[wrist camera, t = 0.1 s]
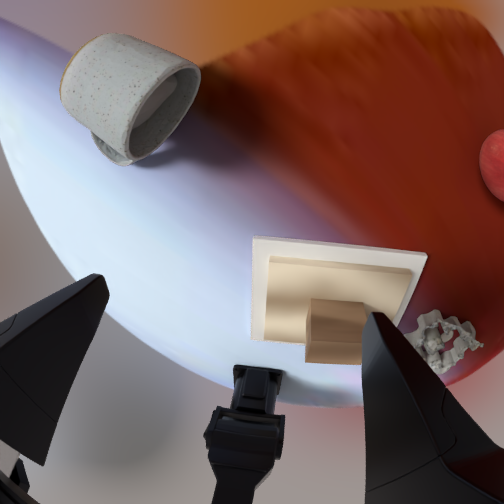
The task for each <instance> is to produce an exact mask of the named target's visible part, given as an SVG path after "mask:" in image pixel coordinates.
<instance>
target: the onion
mask: <svg viewBox="0 0 504 504" xmlns="http://www.w3.org/2000/svg"><path fill="white" fill-rule="evenodd" d="M479 166H480V171H481V176H482V178H483V180H484V182H485V184H486V186H487V187H488V189H489V191H490V192H491V193H492V194H493V195H494V196H495V197H497V198H498V199H500V200H501V201H503V202H504V129H503V130H498V131H496V132H494V133H492V134H490V135H489V136H488V137H487V139H486V140H485V141H484V142H483V144H482V147H481V151H480V157H479Z"/></svg>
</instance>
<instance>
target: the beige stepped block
mask: <svg viewBox="0 0 504 504" xmlns="http://www.w3.org/2000/svg"><path fill="white" fill-rule="evenodd" d="M411 278H412V273H411V271H410V269H408V268H398V267H387V266H376V265H366V264H355V263H344V262H334V261H323V260H313V259H302V258H291V257H281V256H270V258H269V267H268V282H267V298H266V312H265V326H264V340H271V341H281V342H291V343H303V344H306V349H305V362H307V363H323V364H346V365H361V363H362V331H363V328H364V326H365V323H366V321H367V319H368V316H369V314H370V313H371V312H373V311H374V312H383V313H384V314H385V315H386V316H387V317H388V318H389V319H390V320H391V321H392V322H393V319H394V317H395V315H396V313H397V311H398V309H399V306H400V304H401V302H402V300H403V297H404V295H405V293H406V290H407V288H408V285H409V283H410V280H411Z"/></svg>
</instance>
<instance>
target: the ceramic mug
mask: <svg viewBox="0 0 504 504" xmlns="http://www.w3.org/2000/svg"><path fill="white" fill-rule="evenodd" d="M200 81H201V73H200V69H199V68H198V66H197V65H196V64H194V63H193V62H191V61H188V60H186V59H184V58H182V57H180V56H177V55H176V54H173V53H171V52H169V51H167V50H164V49H162V48H160V47H157V46H155V45H152V44H150V43H147V42H145V41H142V40H140V39H137V38H135V37H132V36H130V35H125V34H118V33H107V34H103V35H100V36H98V37H95V38H93V39H92V40H90V41H88V42H87V43H86V44H85V45H83V46H82V47H81V48H80V49H79V50H78V51H77V52H76V53H75V54H74V55H73V57H72V58H71V60H70V61H69V63H68V64H67V66H66V68H65V70H64V73H63V75H62V78H61V83H60V89H59V91H60V99H61V102H62V104H63V106H64V108H65V109H66V111H67V112H68V113H69V114H70V115H71V116H72V117H73V118H74V119H75V120H76V121H78V122H79V123H80V124H82V125H83V126H85V127H86V128H88V129H89V130H90V131H91V136H92V138H93V140H94V142H95V144H96V146H97V147H98V149H99V150H100V151H101V152H102V154H103V155H105V156H106V157H107V158H108V159H109V160H110V161H112V162H113V163H115V164H117V165H120V166H128V165H131V164H133V163H134V162H136V161H138V160H141V159H144V158H145V157H147V156H148V155H150V154H151V153H152V152H154V151H155V150H156V149H157V148H158V147H159V146H160V145H161V144H162V143H163V142H164V141H165V140H166V139H167V138H168V137H169V136H170V135H171V134H172V132H173V131H174V130H175V129H176V128H177V126H178V125H179V123H180V121H181V120H182V118H183V117H184V116H185V115H186V113H187V111H188V110H189V108H190V106H191V104H192V103H193V101H194V98H195V96H196V94H197V92H198V88H199V85H200Z"/></svg>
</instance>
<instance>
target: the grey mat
mask: <svg viewBox="0 0 504 504" xmlns="http://www.w3.org/2000/svg"><path fill="white" fill-rule="evenodd" d="M270 256H281V257H291V258H302V259H313V260H323V261H334V262H344V263H355V264H366V265H376V266H387V267H398V268H408V269H410V271H411V273H412V278H411V280H410V283H409V285H408V288H407V290H406V293H405V295H404V297H403V300H402V302H401V304H400V306H399V309H398V311H397V313H396V315H395V317H394V319H393V324H394V325H395V326H396V327H397V326H398V324H399V322H400V320H401V318H402V316H403V314H404V311H405V309H406V307H407V305H408V303H409V301H410V298H411V296H412V294H413V292H414V289H415V287H416V285H417V282H418V280H419V277H420V275H421V272H422V270H423V267H424V265H425V262H426V259H427V257H428V256H427V255H426V253H423V252H414V251H406V250H397V249H388V248H379V247H370V246H360V245H351V244H341V243H331V242H321V241H311V240H301V239H290V238H279V237H268V236H257V235H254V237H253V259H252V305H251V340H257V341H266V342H275V343H285V344H296V345H306V344H303V343H291V342H281V341H271V340H264V326H265V312H266V298H267V282H268V267H269V258H270Z"/></svg>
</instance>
